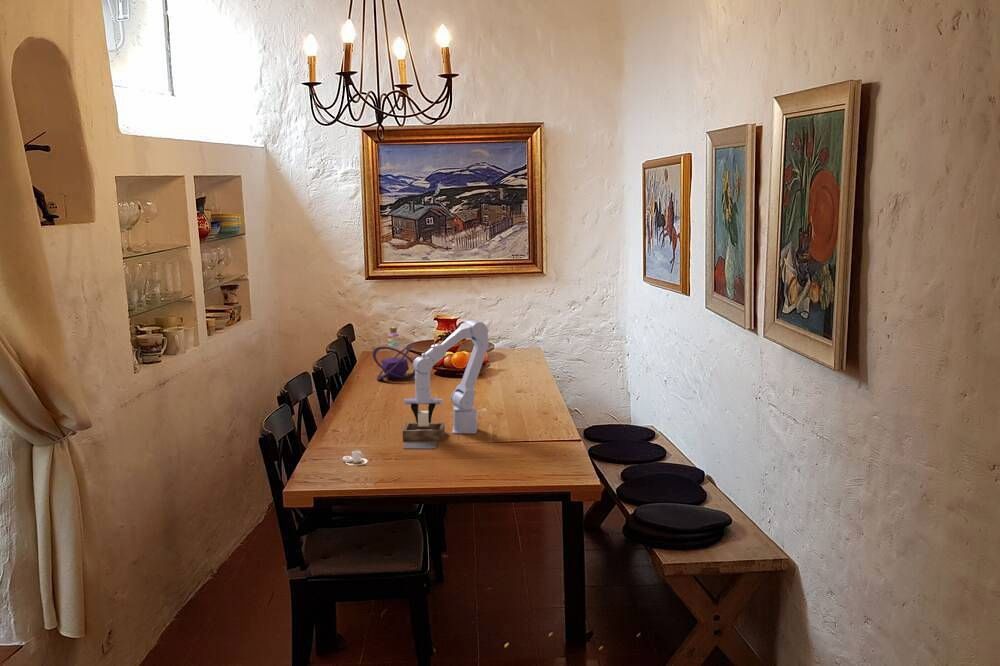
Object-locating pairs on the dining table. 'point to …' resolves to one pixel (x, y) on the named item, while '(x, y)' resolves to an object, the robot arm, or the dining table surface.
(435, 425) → the walnut box
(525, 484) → the dining table surface
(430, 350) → the robot arm
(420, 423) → the cream block
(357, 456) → the teacup and saucer
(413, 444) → the charcoal mat
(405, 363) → the decorative bottle
